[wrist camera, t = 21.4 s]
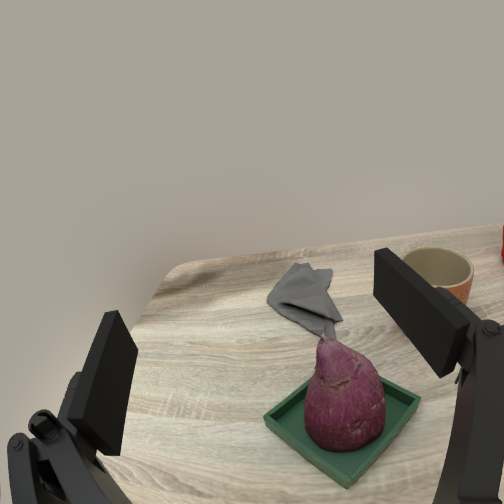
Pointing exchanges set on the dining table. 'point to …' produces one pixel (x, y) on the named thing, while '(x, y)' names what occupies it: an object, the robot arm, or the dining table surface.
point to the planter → (442, 268)
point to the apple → (503, 245)
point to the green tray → (340, 463)
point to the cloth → (306, 299)
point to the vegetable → (343, 399)
